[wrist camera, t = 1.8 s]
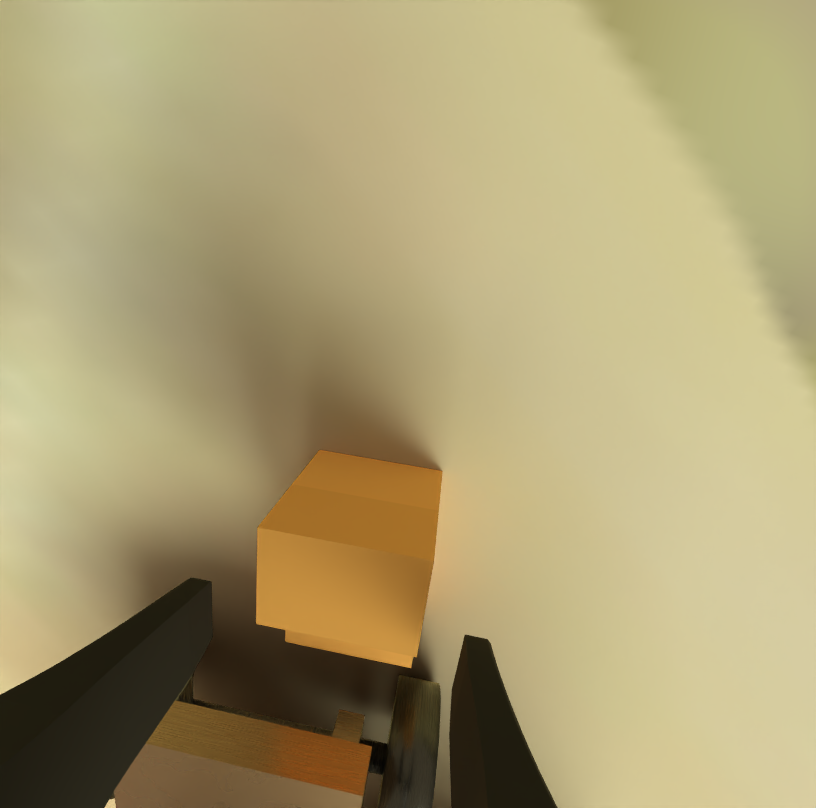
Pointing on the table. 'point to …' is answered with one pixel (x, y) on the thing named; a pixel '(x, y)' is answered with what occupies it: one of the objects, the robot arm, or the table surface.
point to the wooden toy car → (284, 757)
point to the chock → (350, 557)
